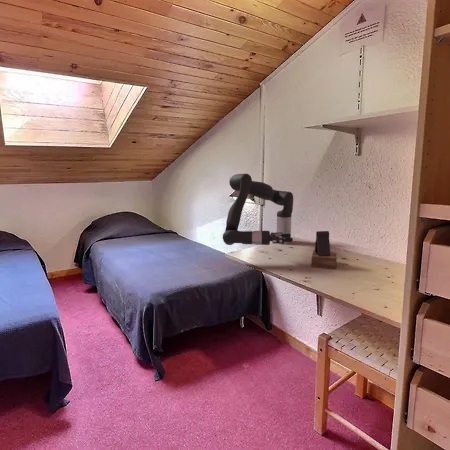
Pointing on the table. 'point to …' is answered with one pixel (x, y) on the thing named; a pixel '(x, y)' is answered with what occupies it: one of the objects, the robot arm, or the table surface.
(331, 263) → the walnut block
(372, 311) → the table surface
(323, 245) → the phone stand
